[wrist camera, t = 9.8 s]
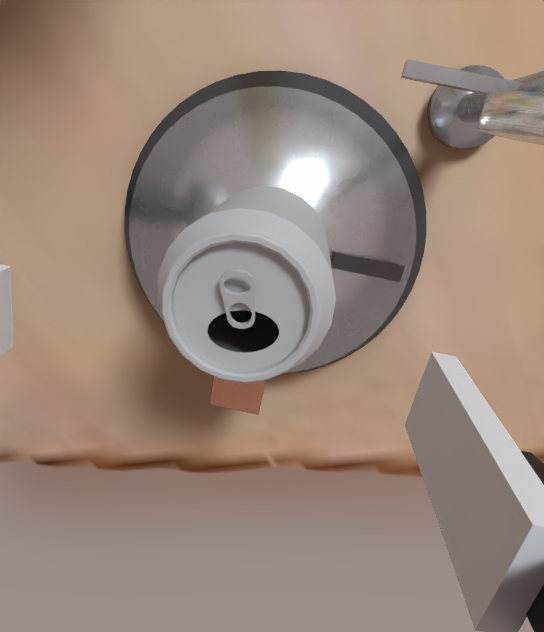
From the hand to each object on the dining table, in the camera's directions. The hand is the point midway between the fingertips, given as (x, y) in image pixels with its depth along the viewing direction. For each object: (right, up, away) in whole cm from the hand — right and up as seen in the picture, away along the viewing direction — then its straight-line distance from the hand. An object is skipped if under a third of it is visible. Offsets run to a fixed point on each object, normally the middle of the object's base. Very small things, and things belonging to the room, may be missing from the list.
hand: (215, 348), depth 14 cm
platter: (+2, +6, +16) cm, 17 cm away
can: (+2, +5, +14) cm, 15 cm away
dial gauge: (+12, +14, +13) cm, 23 cm away
